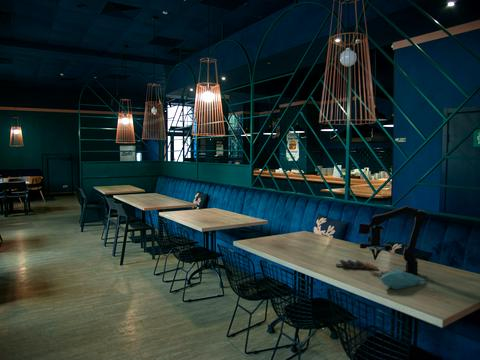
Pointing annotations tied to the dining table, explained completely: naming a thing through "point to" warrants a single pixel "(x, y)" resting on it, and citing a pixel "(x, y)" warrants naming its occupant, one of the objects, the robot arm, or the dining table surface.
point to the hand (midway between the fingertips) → (374, 259)
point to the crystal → (400, 279)
